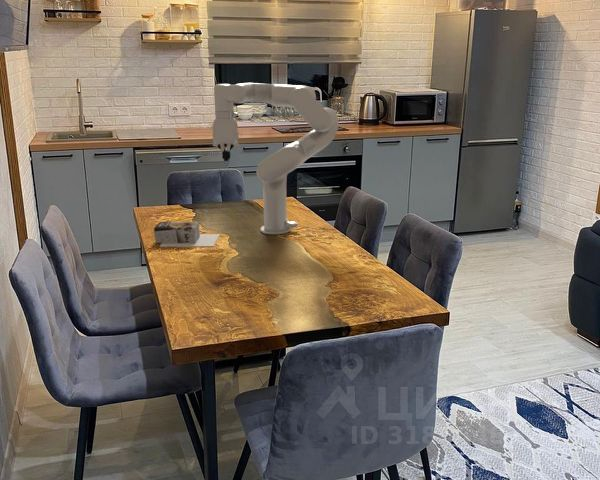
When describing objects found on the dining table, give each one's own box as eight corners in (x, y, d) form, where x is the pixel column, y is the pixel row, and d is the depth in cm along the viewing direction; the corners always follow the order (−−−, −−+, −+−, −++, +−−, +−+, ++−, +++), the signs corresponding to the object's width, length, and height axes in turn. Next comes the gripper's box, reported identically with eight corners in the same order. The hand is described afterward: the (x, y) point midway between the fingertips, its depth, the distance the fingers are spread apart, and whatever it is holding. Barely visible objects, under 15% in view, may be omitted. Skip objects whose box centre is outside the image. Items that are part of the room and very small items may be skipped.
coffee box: (194, 227, 231) (153, 227, 231) (195, 243, 233) (154, 243, 233) (199, 221, 239) (159, 221, 239) (199, 236, 241) (160, 236, 242)
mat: (220, 234, 244) (220, 234, 244) (213, 246, 229) (213, 246, 229) (169, 234, 245) (169, 234, 245) (159, 246, 230) (159, 245, 230)
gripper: (244, 114, 243) (245, 159, 249) (207, 114, 244) (210, 159, 249) (241, 116, 236) (243, 162, 241) (204, 116, 236) (206, 162, 242)
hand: (226, 160), depth 245 cm, fingers closed
